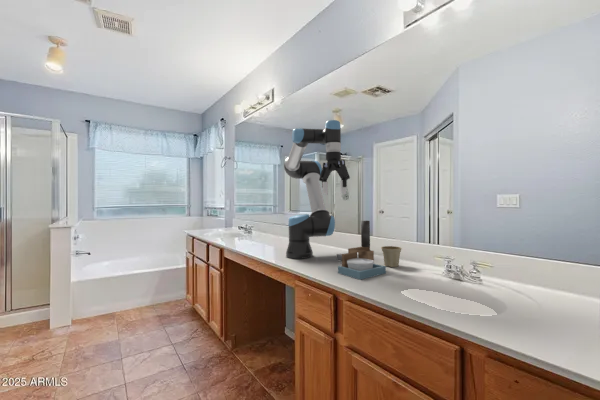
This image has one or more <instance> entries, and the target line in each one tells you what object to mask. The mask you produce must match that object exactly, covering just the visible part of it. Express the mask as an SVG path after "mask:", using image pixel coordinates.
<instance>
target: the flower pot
mask: <svg viewBox="0 0 600 400" xmlns="http://www.w3.org/2000/svg"><path fill="white" fill-rule="evenodd" d="M380 249H381V252H382V254H383V262H384V266H386V267H388V268H389V267H390V268H398V267H399V266H400V265H399V264H400V257H401V256H400V255H401V252H402V250H403V247H401V246H396V245H395V246H393V245H391V246H390V245H387V246H386V245H384V246H381V247H380Z"/></svg>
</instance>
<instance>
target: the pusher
mask: <svg viewBox="0 0 600 400" xmlns="http://www.w3.org/2000/svg"><path fill="white" fill-rule="evenodd" d="M370 224H371V222H370V220H361V221H360V235H361V236H360V241H361V243H360V244H361V246H356V247H351V248H348V249H347V251H348V252H347V253H341V254H342V261H341V266H342V267H346V268H348V264H347V260H349V259H355V258H357V257H358V258H362V259H369V260H372V261H374V259H375V254H374V252H375V251H374V250H371V230H370V228H371V226H370Z"/></svg>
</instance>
